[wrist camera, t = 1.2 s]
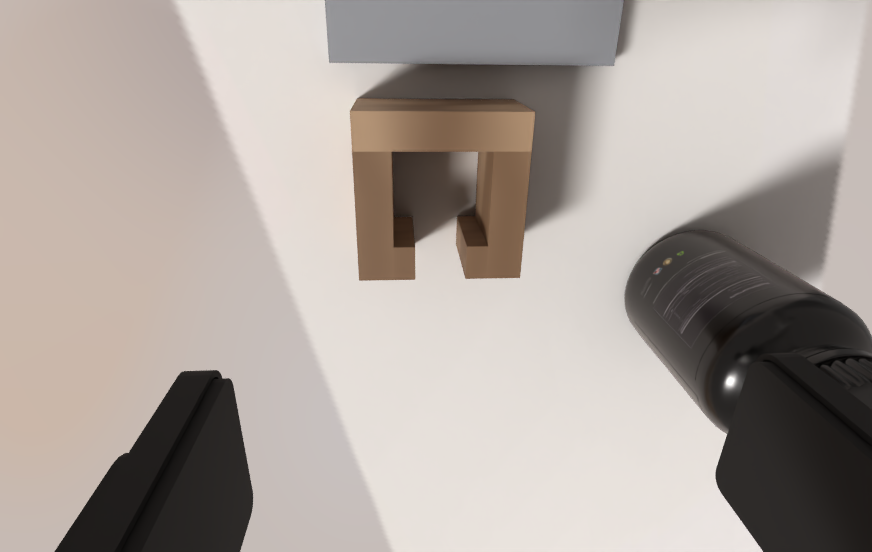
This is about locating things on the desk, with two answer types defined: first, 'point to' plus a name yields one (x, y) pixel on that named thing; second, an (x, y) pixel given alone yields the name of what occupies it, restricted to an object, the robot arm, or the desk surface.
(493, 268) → the wooden arch block
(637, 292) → the supplement bottle
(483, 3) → the post base
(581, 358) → the desk surface
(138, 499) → the robot arm
